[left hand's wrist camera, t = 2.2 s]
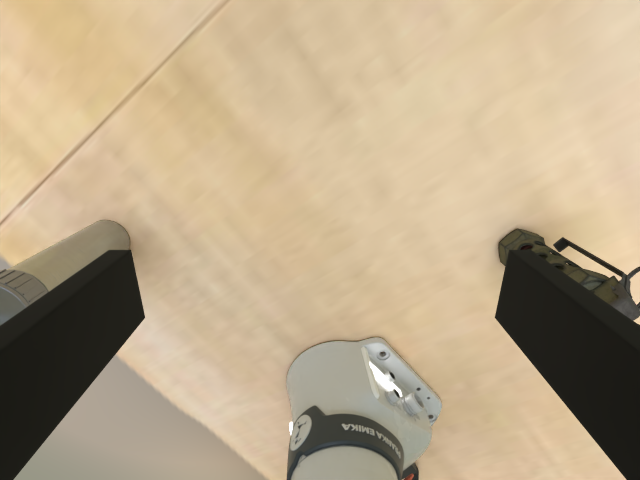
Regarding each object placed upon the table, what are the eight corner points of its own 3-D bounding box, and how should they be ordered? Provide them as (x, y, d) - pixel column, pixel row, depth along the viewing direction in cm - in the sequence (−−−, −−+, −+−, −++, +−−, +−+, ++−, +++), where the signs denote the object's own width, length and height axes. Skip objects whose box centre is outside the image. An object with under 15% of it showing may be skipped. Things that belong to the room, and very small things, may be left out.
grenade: (510, 284, 44) (599, 369, 30) (483, 253, 42) (563, 327, 28) (574, 238, 42) (702, 306, 28) (547, 203, 40) (669, 257, 26)
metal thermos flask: (91, 255, 43) (-26, 332, 28) (86, 217, 41) (-40, 279, 27) (131, 259, 43) (36, 338, 28) (128, 222, 41) (25, 286, 27)
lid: (-7, 321, 30) (-34, 339, 28) (-21, 264, 28) (-51, 278, 26) (57, 327, 30) (36, 345, 28) (47, 271, 29) (24, 286, 26)
